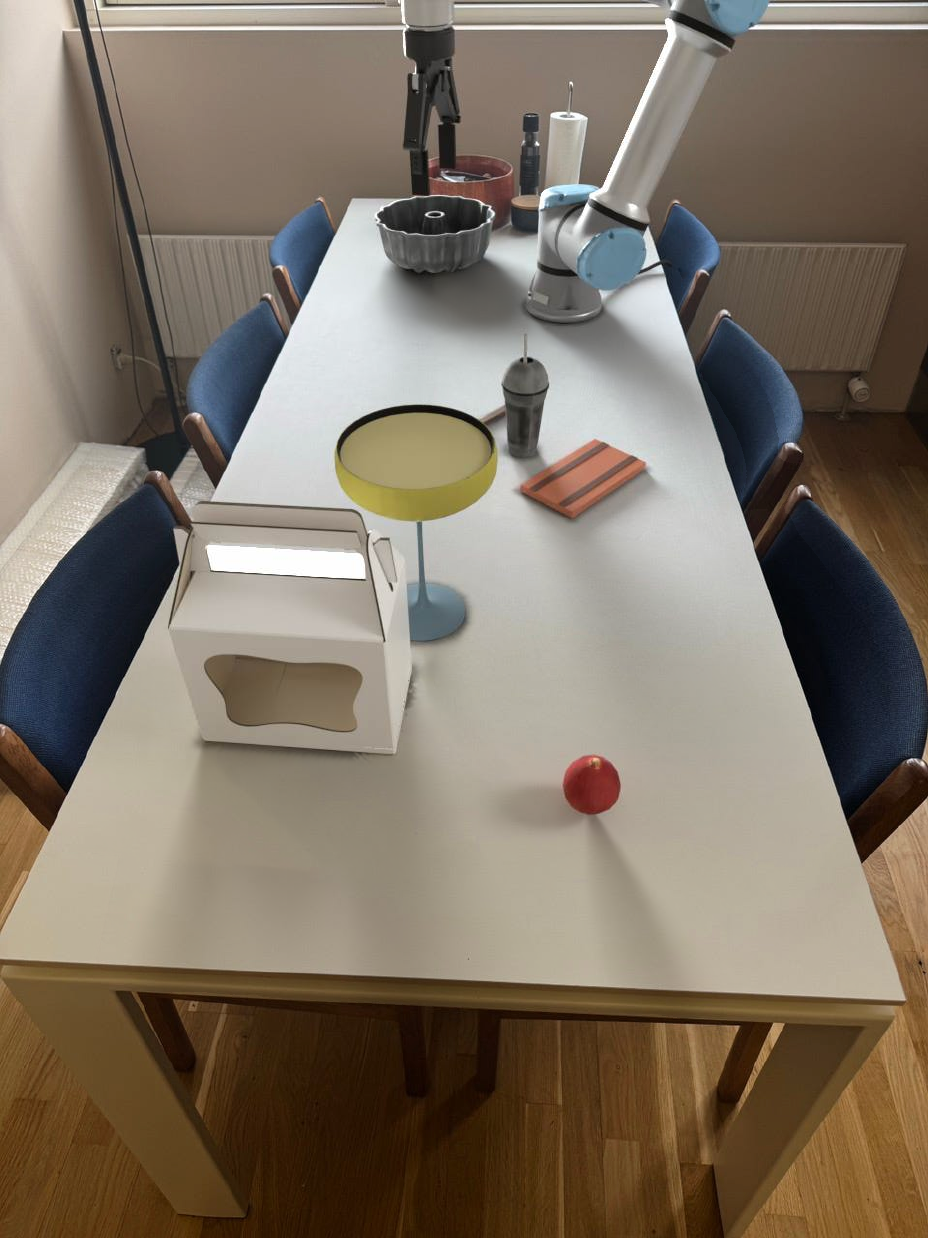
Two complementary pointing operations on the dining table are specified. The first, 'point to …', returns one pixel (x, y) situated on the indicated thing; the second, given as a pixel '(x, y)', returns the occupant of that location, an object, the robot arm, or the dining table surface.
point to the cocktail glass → (418, 485)
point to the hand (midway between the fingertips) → (435, 180)
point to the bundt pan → (435, 232)
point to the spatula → (493, 415)
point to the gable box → (292, 628)
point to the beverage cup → (524, 403)
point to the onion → (591, 784)
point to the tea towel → (583, 477)
